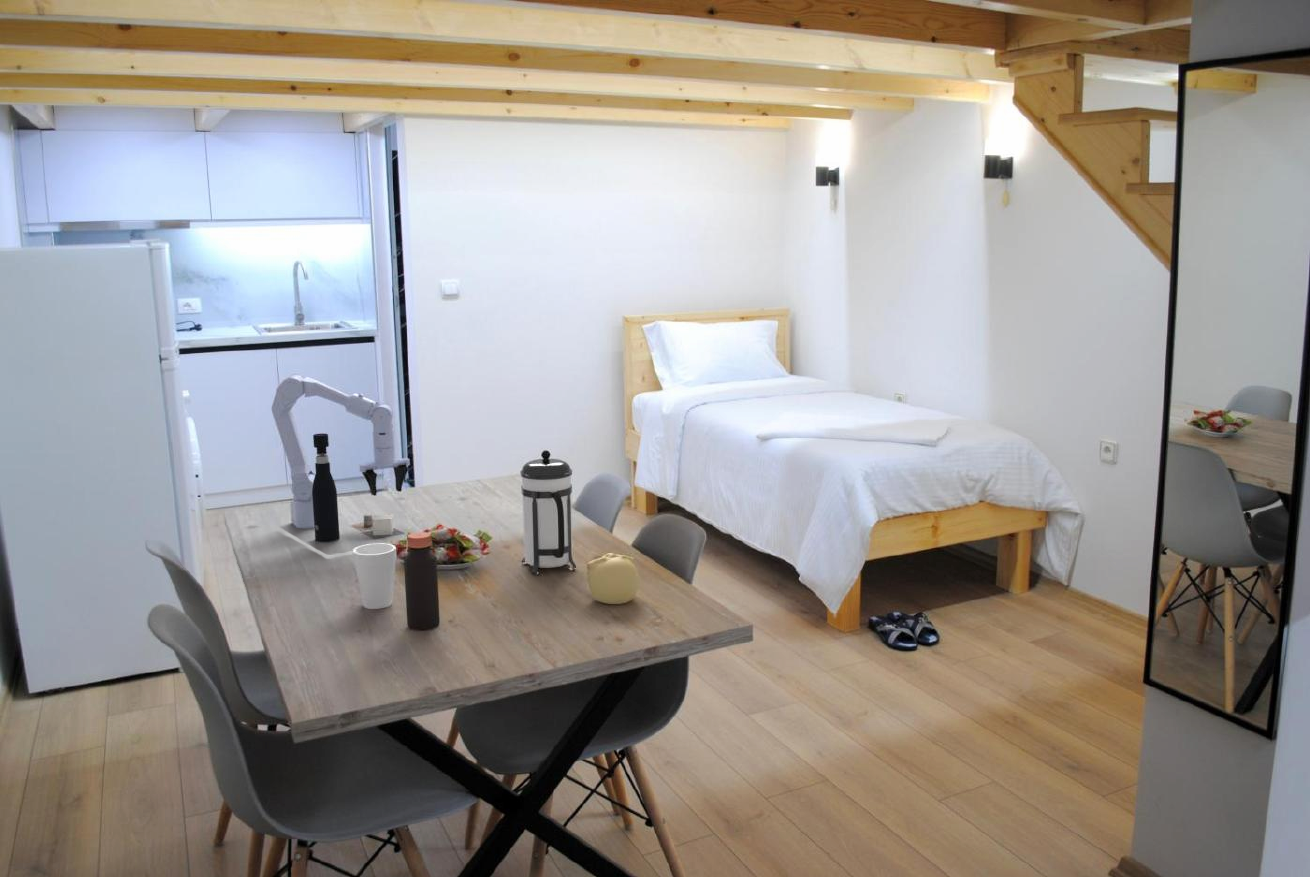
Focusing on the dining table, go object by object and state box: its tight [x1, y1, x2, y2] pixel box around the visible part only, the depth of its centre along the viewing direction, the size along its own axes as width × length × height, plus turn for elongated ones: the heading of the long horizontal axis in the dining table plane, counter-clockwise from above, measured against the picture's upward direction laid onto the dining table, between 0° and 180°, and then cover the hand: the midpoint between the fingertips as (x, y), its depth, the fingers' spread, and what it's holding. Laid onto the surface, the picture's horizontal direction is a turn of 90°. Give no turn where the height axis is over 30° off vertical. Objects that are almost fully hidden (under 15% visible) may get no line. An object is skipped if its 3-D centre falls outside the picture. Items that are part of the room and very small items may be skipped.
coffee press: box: [519, 450, 577, 575], centre depth 262 cm, size 17×16×30 cm
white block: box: [372, 514, 395, 535], centre depth 295 cm, size 5×5×4 cm
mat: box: [360, 527, 406, 540], centre depth 295 cm, size 9×9×1 cm
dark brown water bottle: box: [403, 531, 441, 631], centre depth 225 cm, size 7×7×20 cm
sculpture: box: [586, 552, 640, 605], centre depth 241 cm, size 12×12×11 cm
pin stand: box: [349, 513, 373, 532], centre depth 303 cm, size 8×8×4 cm
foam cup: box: [352, 542, 397, 610], centre depth 239 cm, size 10×9×13 cm
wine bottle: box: [312, 433, 341, 543], centre depth 287 cm, size 6×6×30 cm
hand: (386, 492), depth 306 cm, fingers open, 7 cm apart
